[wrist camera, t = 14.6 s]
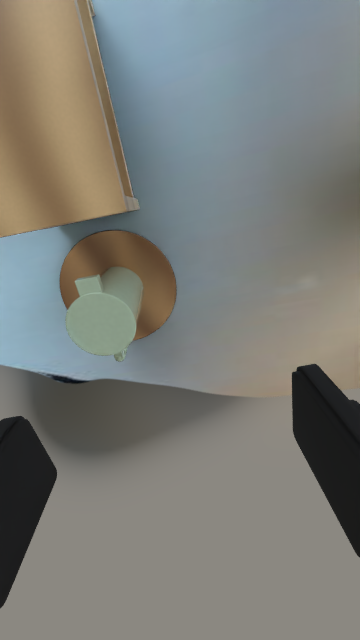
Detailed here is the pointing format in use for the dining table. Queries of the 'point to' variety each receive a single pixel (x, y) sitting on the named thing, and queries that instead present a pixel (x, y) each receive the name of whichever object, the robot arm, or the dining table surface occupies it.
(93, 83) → the shelf unit
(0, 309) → the dining table surface
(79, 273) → the disc
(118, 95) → the dining table surface
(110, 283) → the jug
